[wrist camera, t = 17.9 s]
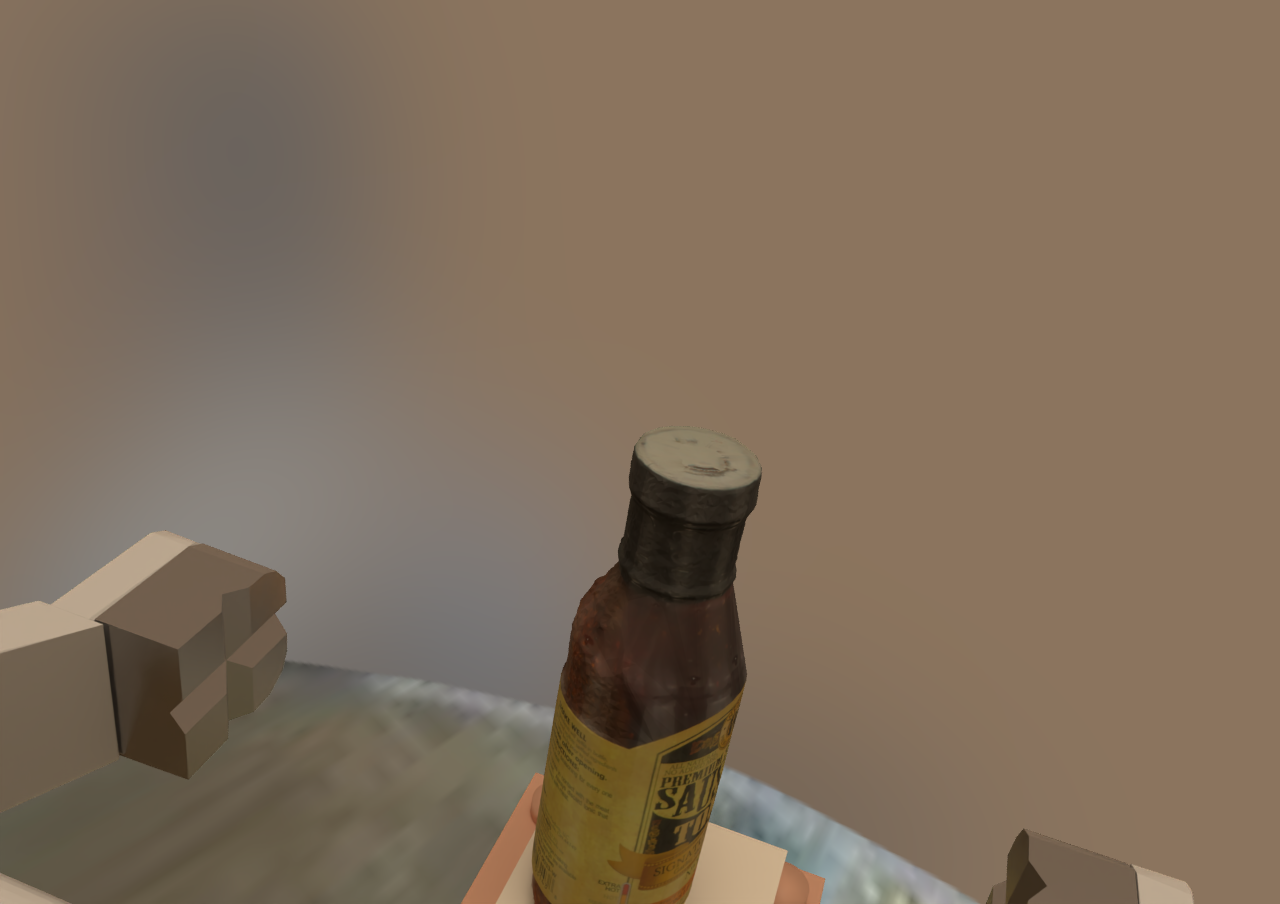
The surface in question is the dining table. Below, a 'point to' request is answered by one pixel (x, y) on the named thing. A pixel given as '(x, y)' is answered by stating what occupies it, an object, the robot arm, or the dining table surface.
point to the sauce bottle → (650, 683)
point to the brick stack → (723, 882)
